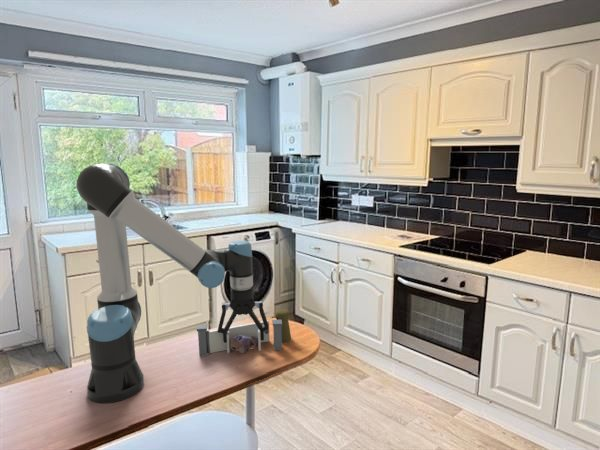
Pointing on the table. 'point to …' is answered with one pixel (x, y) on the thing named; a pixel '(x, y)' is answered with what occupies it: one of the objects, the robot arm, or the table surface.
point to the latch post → (277, 334)
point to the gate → (217, 341)
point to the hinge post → (202, 339)
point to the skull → (243, 343)
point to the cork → (284, 324)
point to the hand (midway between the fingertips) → (244, 349)
